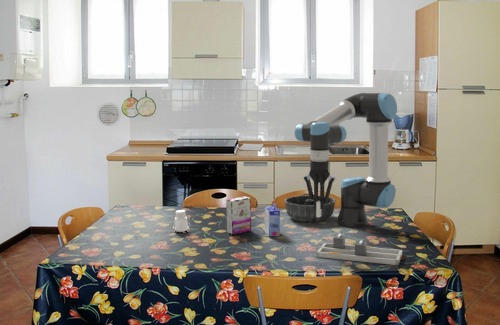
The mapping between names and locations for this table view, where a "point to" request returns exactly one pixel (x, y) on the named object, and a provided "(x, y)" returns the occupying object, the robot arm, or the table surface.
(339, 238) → the tab
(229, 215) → the candy bar box
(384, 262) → the tray
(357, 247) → the tab
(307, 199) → the bundt pan
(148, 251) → the table surface
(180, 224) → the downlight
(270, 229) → the ink cartridge box
